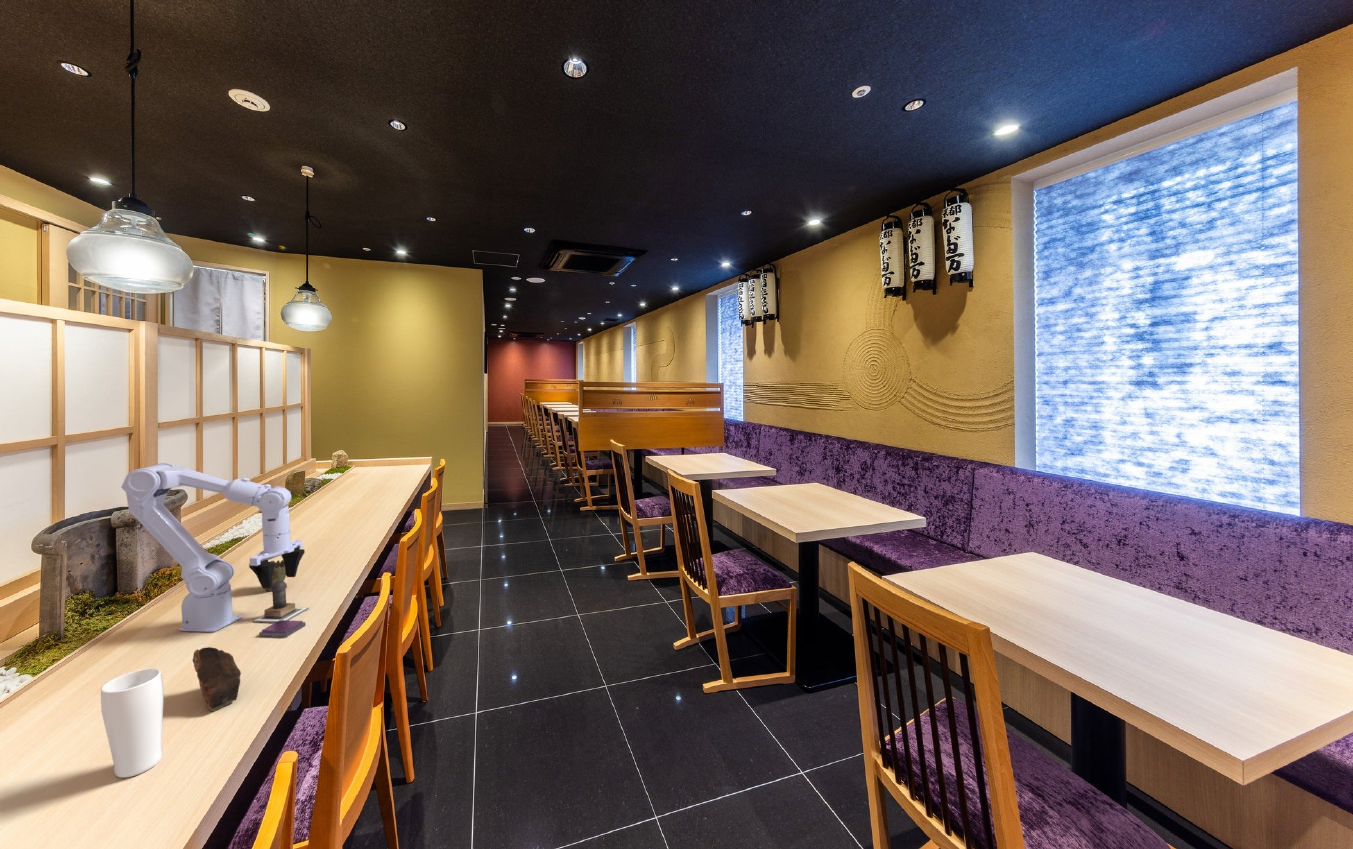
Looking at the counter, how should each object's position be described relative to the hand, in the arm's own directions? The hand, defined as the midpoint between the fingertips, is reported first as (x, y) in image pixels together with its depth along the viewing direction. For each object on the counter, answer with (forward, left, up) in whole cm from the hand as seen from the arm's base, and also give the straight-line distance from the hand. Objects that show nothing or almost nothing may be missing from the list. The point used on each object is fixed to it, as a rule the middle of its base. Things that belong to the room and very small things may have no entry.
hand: (279, 582), depth 133 cm
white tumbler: (+22, -52, -10) cm, 57 cm away
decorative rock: (+17, -34, -10) cm, 39 cm away
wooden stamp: (0, 0, -9) cm, 9 cm away
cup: (-17, +16, -10) cm, 25 cm away
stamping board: (0, 0, -9) cm, 9 cm away
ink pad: (+8, -8, -9) cm, 14 cm away
